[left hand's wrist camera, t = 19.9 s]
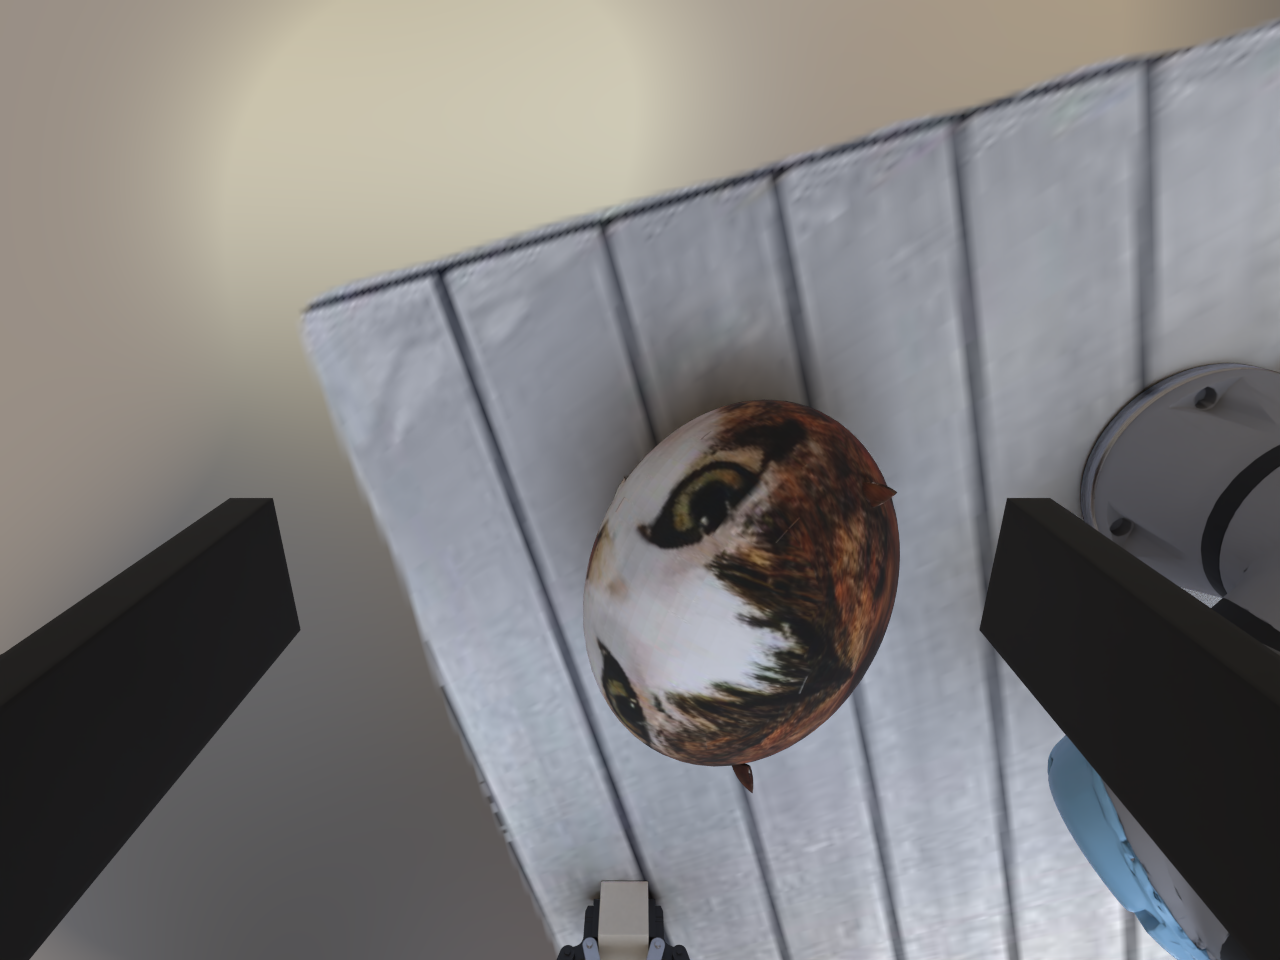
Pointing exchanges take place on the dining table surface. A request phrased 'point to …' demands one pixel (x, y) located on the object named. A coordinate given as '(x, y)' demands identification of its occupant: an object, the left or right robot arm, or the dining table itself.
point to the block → (623, 920)
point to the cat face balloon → (741, 583)
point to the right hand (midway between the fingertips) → (624, 906)
